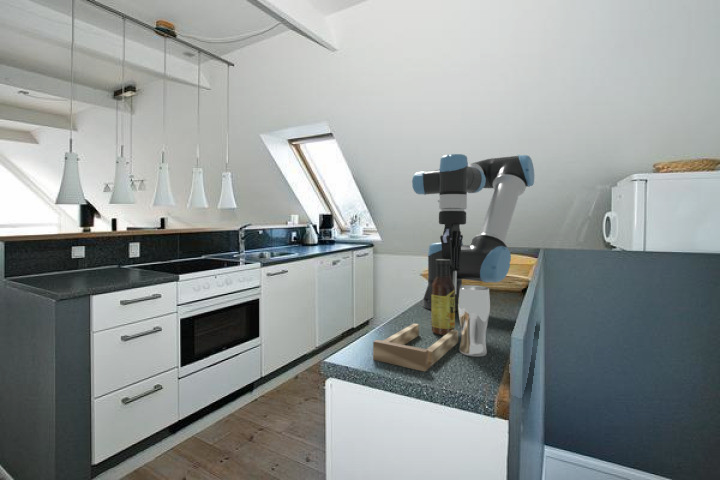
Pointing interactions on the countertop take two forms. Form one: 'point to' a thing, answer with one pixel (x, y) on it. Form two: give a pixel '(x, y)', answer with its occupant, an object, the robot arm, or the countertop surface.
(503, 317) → the countertop surface
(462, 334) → the beer glass
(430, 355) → the bracket
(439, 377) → the countertop surface
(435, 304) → the sauce bottle
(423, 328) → the countertop surface
